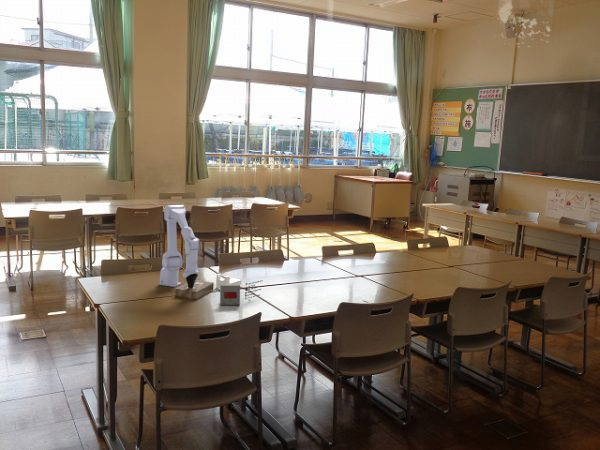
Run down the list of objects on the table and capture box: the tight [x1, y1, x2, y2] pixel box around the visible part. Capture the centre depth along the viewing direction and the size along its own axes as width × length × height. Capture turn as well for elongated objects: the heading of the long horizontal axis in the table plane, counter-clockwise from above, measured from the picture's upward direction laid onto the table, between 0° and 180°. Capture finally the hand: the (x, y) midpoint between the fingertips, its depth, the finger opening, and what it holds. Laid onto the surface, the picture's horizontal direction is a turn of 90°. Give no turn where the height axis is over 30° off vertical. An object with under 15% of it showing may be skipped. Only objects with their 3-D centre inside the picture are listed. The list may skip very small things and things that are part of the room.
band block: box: [174, 279, 215, 300], centre depth 293 cm, size 12×20×4 cm, turn 164°
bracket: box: [215, 273, 242, 289], centre depth 309 cm, size 13×7×8 cm, turn 148°
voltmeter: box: [219, 279, 263, 306], centre depth 284 cm, size 27×11×10 cm, turn 140°
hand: (190, 287), depth 288 cm, fingers closed, pressing on peg
